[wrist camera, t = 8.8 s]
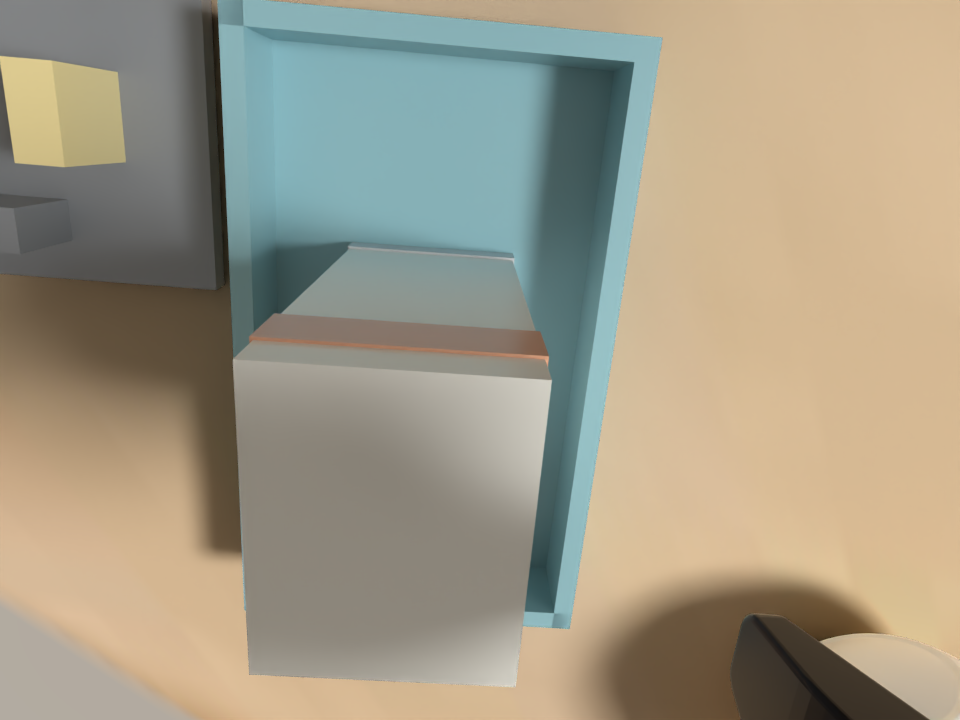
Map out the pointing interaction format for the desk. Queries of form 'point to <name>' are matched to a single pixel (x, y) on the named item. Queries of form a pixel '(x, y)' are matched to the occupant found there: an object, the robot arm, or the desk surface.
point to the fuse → (392, 470)
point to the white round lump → (906, 670)
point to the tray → (447, 190)
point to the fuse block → (110, 142)
